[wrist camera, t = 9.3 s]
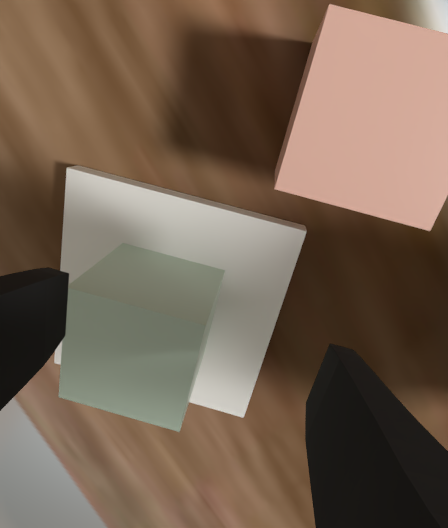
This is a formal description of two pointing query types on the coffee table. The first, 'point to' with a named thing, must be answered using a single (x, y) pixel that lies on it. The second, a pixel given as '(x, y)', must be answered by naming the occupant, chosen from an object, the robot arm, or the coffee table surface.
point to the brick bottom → (138, 334)
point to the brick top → (371, 120)
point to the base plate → (196, 250)
